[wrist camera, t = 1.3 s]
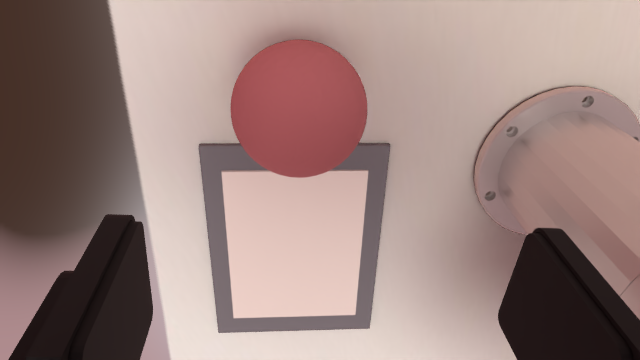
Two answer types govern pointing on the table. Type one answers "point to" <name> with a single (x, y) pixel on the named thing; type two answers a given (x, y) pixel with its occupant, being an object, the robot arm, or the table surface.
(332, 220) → the gray rectangular picture frame
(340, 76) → the light bulb
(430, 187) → the table surface
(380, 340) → the table surface
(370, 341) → the table surface
